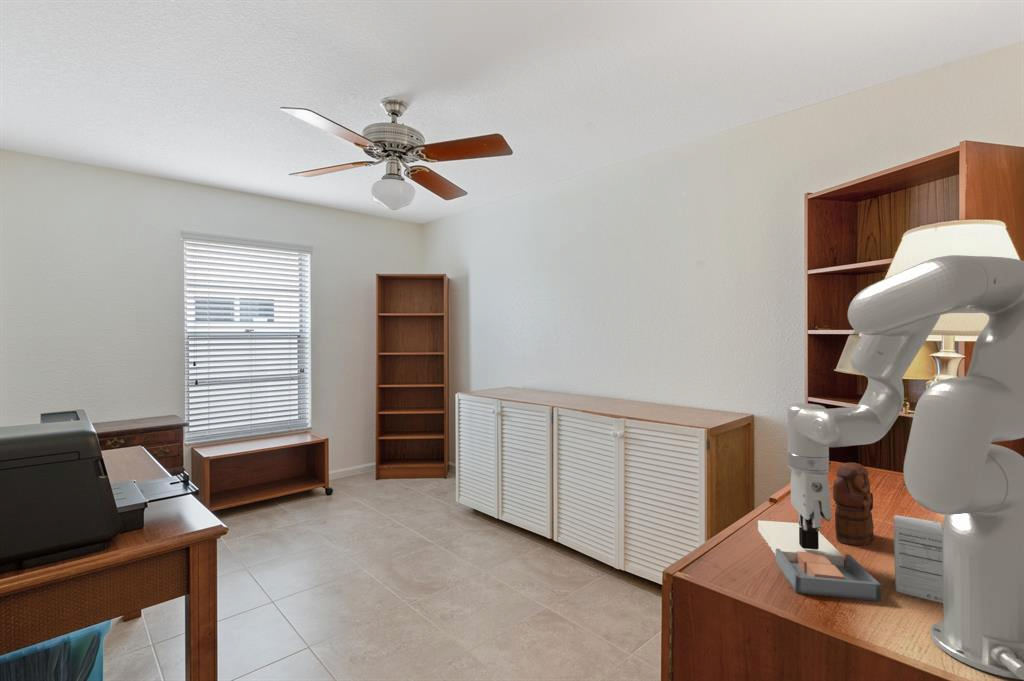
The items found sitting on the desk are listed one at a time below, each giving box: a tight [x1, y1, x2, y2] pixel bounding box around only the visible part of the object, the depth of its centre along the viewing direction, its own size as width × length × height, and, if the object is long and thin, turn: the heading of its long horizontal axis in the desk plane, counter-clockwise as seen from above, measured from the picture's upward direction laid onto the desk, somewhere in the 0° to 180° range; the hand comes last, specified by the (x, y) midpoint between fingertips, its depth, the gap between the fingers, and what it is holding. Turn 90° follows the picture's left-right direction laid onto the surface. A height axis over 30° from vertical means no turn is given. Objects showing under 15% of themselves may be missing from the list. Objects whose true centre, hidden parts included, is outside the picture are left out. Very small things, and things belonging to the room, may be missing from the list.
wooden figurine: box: [832, 462, 875, 546], centre depth 115 cm, size 12×6×18 cm, turn 129°
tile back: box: [797, 551, 832, 573], centre depth 100 cm, size 5×5×2 cm
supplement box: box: [893, 514, 944, 604], centre depth 92 cm, size 7×7×13 cm
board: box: [757, 520, 845, 566], centre depth 111 cm, size 18×12×2 cm, turn 167°
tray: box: [775, 549, 882, 602], centre depth 96 cm, size 13×14×3 cm
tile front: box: [806, 562, 845, 580], centre depth 95 cm, size 5×5×2 cm
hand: (808, 547), depth 104 cm, fingers closed
